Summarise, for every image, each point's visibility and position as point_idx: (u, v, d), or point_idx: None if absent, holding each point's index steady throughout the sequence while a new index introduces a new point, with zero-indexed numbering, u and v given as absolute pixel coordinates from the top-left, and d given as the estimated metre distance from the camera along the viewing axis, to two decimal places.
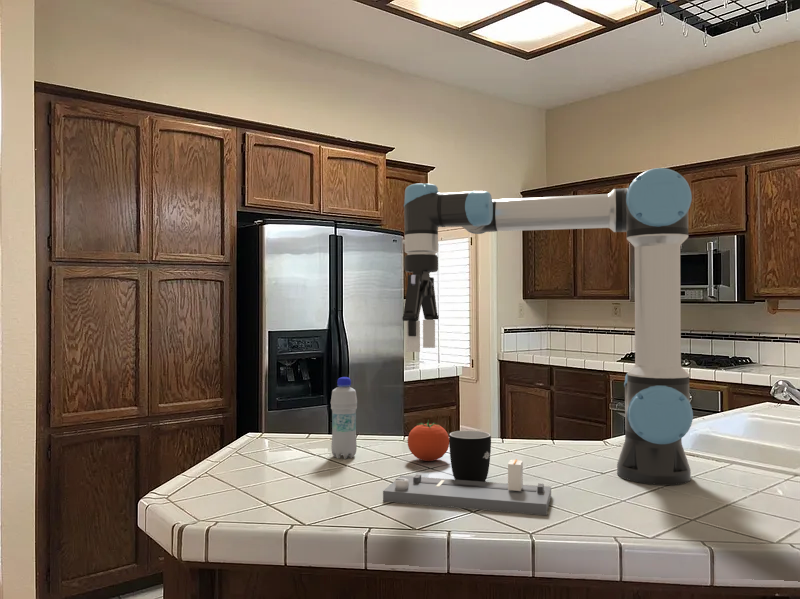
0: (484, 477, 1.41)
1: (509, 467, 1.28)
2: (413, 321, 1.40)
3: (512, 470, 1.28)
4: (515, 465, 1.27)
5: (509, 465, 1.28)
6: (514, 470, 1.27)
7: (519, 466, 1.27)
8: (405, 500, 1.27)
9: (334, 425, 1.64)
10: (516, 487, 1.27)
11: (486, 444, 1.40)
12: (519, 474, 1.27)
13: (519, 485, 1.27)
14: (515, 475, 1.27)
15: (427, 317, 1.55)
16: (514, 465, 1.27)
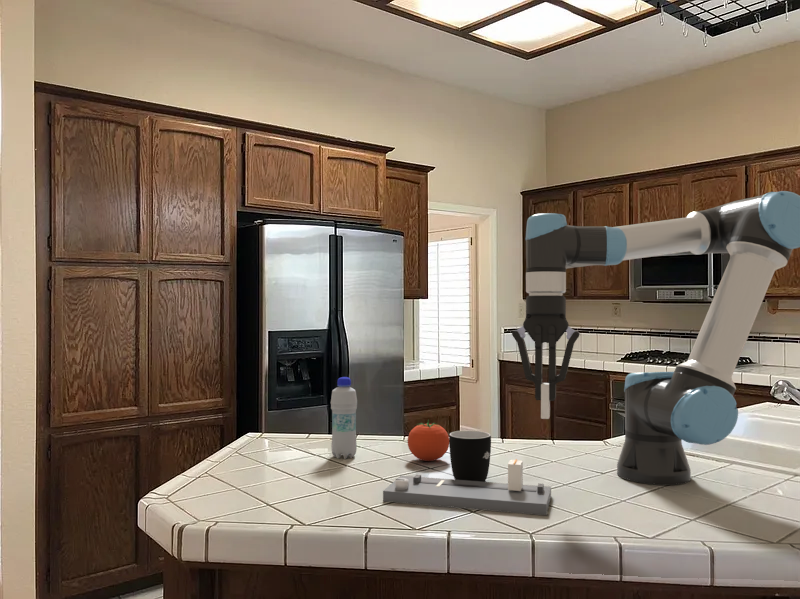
0: (484, 477, 1.41)
1: (509, 467, 1.28)
2: None
3: (512, 470, 1.28)
4: (515, 465, 1.27)
5: (509, 465, 1.28)
6: (514, 470, 1.27)
7: (519, 466, 1.27)
8: (405, 500, 1.27)
9: (334, 425, 1.64)
10: (516, 487, 1.27)
11: (486, 444, 1.40)
12: (519, 474, 1.27)
13: (519, 485, 1.27)
14: (515, 475, 1.27)
15: None
16: (514, 465, 1.27)
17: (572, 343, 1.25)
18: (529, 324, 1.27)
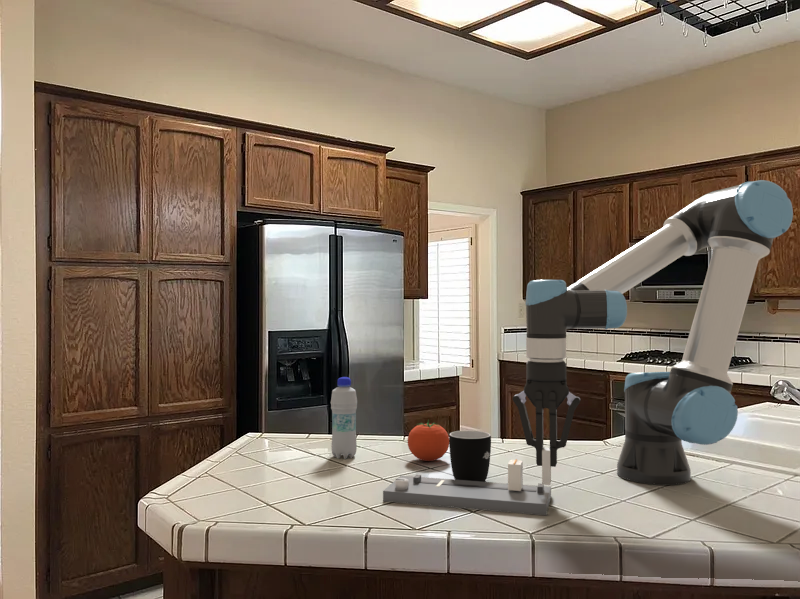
0: (484, 477, 1.41)
1: (509, 467, 1.28)
2: None
3: (512, 470, 1.28)
4: (515, 465, 1.27)
5: (509, 465, 1.28)
6: (514, 470, 1.27)
7: (519, 466, 1.27)
8: (405, 500, 1.27)
9: (334, 425, 1.64)
10: (516, 487, 1.27)
11: (486, 444, 1.40)
12: (519, 474, 1.27)
13: (519, 485, 1.27)
14: (515, 475, 1.27)
15: None
16: (514, 465, 1.27)
17: (573, 409, 1.25)
18: (530, 389, 1.27)
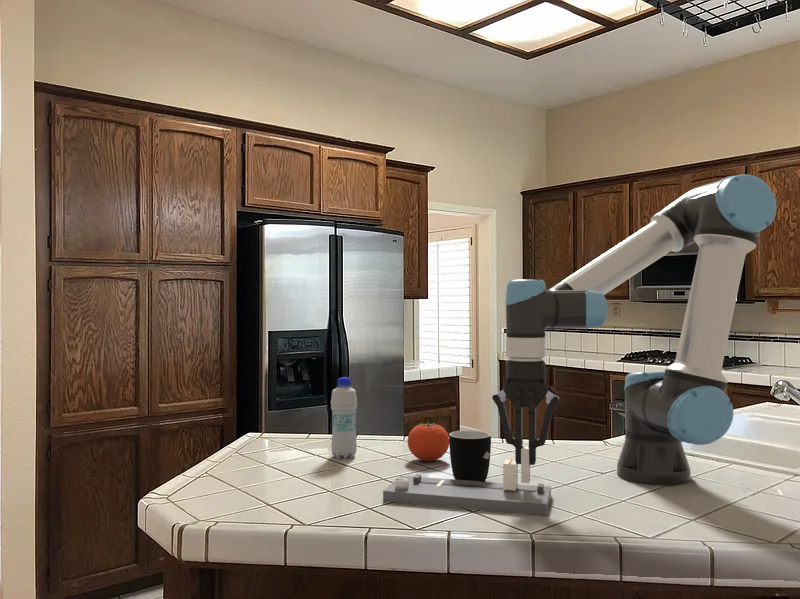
0: (484, 477, 1.41)
1: (504, 467, 1.28)
2: (515, 447, 1.29)
3: (507, 469, 1.28)
4: (510, 465, 1.28)
5: (504, 465, 1.28)
6: (509, 470, 1.28)
7: (514, 466, 1.27)
8: (405, 500, 1.27)
9: (334, 425, 1.64)
10: (511, 487, 1.28)
11: (486, 444, 1.40)
12: (514, 474, 1.27)
13: (514, 485, 1.27)
14: (510, 475, 1.28)
15: None
16: (509, 465, 1.28)
17: (551, 408, 1.26)
18: (509, 388, 1.28)
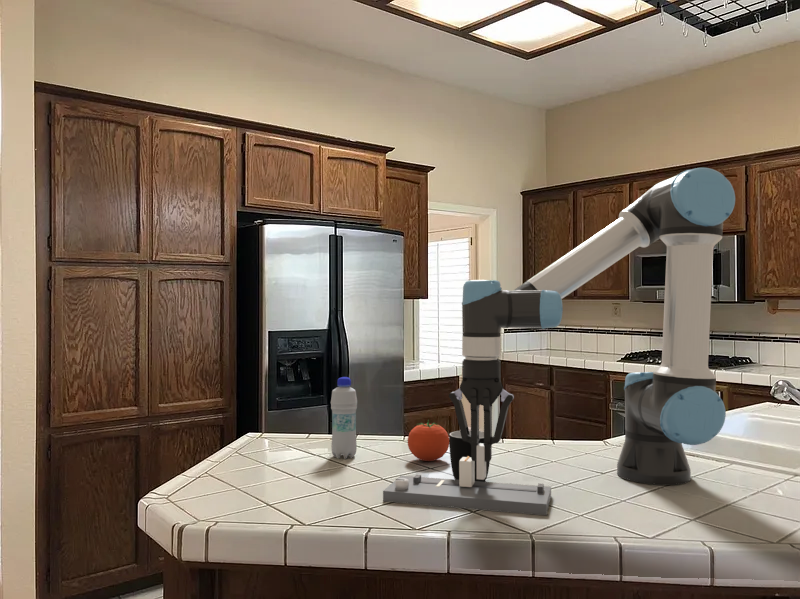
0: None
1: (460, 464, 1.30)
2: None
3: (463, 466, 1.30)
4: (466, 462, 1.30)
5: (460, 462, 1.30)
6: (465, 467, 1.30)
7: (470, 463, 1.30)
8: (405, 500, 1.27)
9: (334, 425, 1.64)
10: (467, 483, 1.30)
11: None
12: (470, 471, 1.30)
13: (470, 481, 1.30)
14: (466, 472, 1.30)
15: None
16: (465, 462, 1.30)
17: (506, 406, 1.29)
18: (465, 387, 1.31)
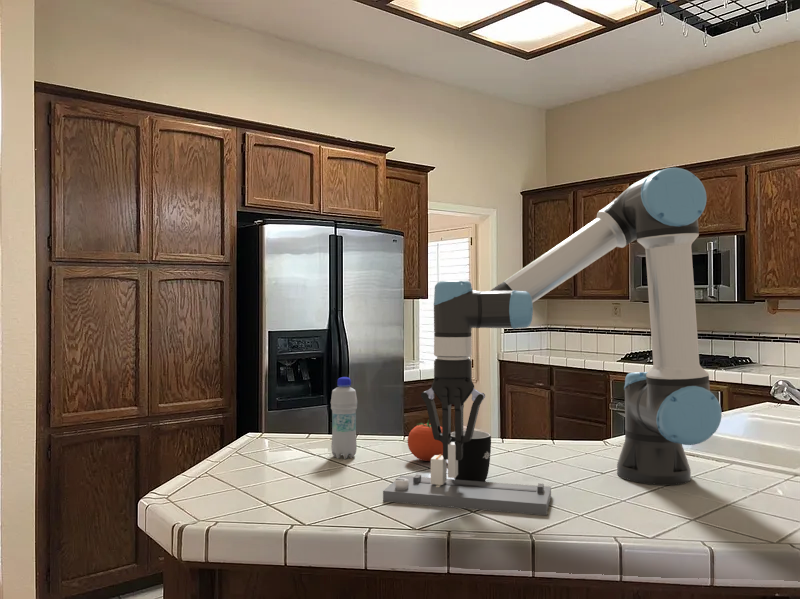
0: (484, 477, 1.41)
1: (432, 462, 1.32)
2: None
3: (435, 464, 1.32)
4: (437, 460, 1.32)
5: (432, 460, 1.32)
6: (436, 465, 1.32)
7: (441, 461, 1.32)
8: (405, 500, 1.27)
9: (334, 425, 1.64)
10: (438, 481, 1.32)
11: (486, 444, 1.40)
12: (441, 469, 1.32)
13: (441, 479, 1.32)
14: (437, 470, 1.32)
15: None
16: (436, 460, 1.32)
17: (476, 405, 1.30)
18: (437, 386, 1.33)
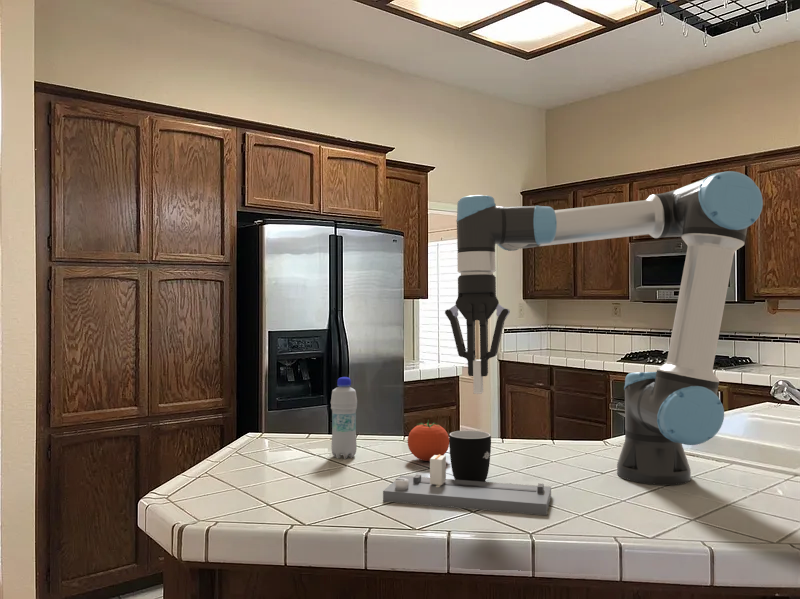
0: (484, 477, 1.41)
1: (431, 462, 1.32)
2: None
3: (434, 464, 1.32)
4: (437, 460, 1.32)
5: (431, 460, 1.32)
6: (435, 465, 1.32)
7: (440, 461, 1.32)
8: (405, 500, 1.27)
9: (334, 425, 1.64)
10: (437, 481, 1.32)
11: (486, 444, 1.40)
12: (440, 469, 1.32)
13: (440, 479, 1.32)
14: (437, 469, 1.32)
15: None
16: (436, 460, 1.32)
17: (501, 320, 1.30)
18: (461, 303, 1.32)
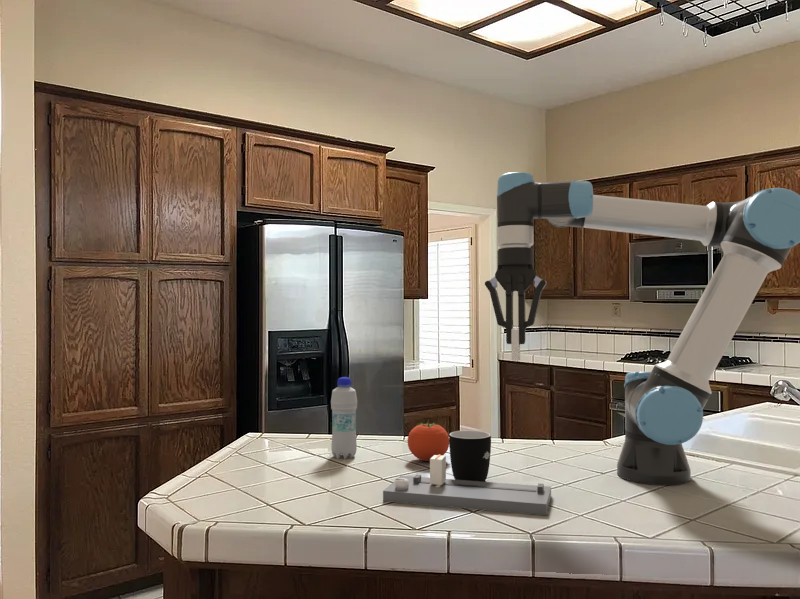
0: (484, 477, 1.41)
1: (431, 462, 1.32)
2: (506, 329, 1.39)
3: (434, 464, 1.32)
4: (437, 460, 1.32)
5: (431, 460, 1.32)
6: (435, 465, 1.32)
7: (440, 461, 1.32)
8: (405, 500, 1.27)
9: (334, 425, 1.64)
10: (437, 481, 1.32)
11: (486, 444, 1.40)
12: (440, 469, 1.32)
13: (440, 479, 1.32)
14: (437, 469, 1.32)
15: None
16: (436, 460, 1.32)
17: (539, 291, 1.37)
18: (500, 274, 1.39)
